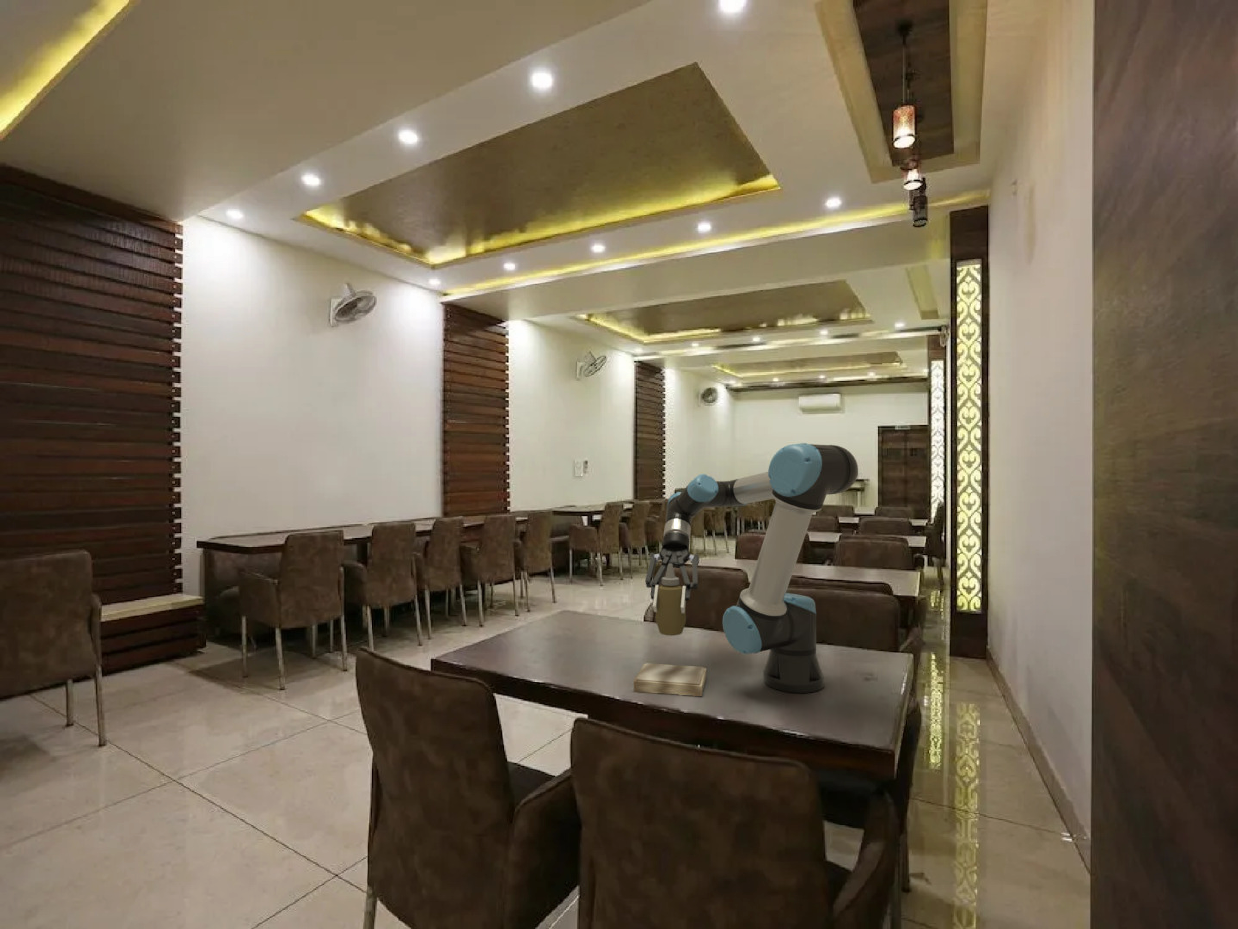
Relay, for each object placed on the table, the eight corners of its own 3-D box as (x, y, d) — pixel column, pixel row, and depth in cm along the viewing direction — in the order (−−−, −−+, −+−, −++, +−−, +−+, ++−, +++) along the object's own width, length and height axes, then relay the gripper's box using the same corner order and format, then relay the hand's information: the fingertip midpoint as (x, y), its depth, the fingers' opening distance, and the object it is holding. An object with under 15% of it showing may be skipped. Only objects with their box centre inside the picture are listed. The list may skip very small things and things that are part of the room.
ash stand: (706, 678, 157) (706, 666, 158) (701, 697, 144) (701, 684, 144) (644, 673, 161) (644, 662, 161) (633, 691, 148) (633, 679, 148)
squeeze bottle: (661, 638, 148) (660, 567, 148) (651, 630, 156) (650, 562, 156) (691, 636, 150) (690, 565, 150) (679, 628, 158) (679, 561, 158)
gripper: (711, 548, 166) (707, 619, 150) (644, 546, 171) (633, 616, 154) (710, 531, 161) (706, 603, 145) (640, 530, 165) (629, 599, 149)
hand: (668, 609), depth 150 cm, fingers closed on squeeze bottle, 6 cm apart
